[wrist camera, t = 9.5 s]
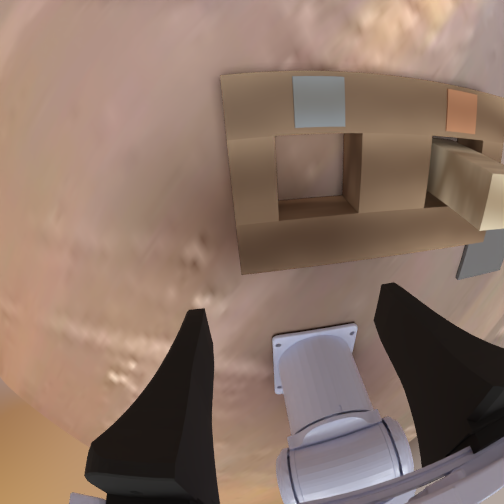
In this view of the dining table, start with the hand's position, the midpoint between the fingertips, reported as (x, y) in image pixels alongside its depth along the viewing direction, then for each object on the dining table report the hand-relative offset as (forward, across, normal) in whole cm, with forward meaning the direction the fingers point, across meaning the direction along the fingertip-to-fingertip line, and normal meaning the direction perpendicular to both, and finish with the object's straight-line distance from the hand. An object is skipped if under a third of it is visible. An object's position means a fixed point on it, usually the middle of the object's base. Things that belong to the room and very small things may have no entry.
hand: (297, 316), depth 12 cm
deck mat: (+10, -22, +6) cm, 25 cm away
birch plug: (+10, -13, -3) cm, 17 cm away
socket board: (+10, -8, -3) cm, 13 cm away
